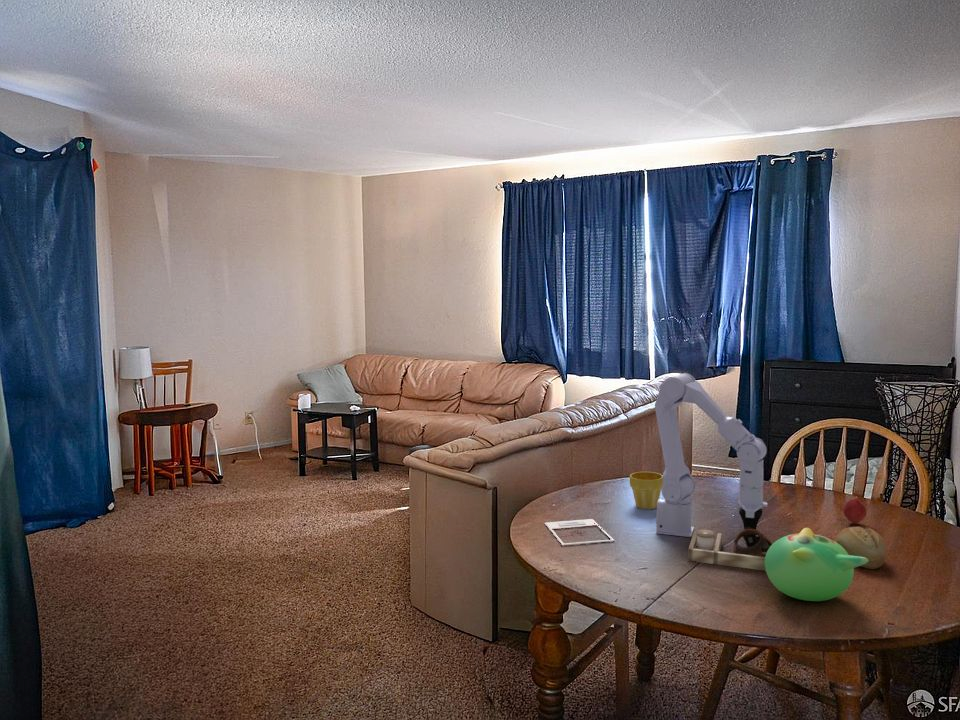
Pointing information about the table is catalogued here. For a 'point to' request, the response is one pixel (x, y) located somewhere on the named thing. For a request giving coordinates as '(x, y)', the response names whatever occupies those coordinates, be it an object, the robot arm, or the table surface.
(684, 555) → the table surface
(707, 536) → the cream jar
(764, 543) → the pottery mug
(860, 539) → the bread roll
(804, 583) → the toy bird
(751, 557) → the bracket
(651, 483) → the plant pot
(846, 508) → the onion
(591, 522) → the photo frame
